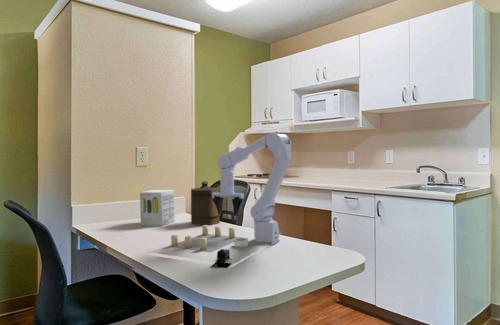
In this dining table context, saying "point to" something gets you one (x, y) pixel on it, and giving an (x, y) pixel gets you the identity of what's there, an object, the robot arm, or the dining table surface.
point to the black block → (222, 259)
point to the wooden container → (203, 205)
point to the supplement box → (157, 207)
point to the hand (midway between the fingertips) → (228, 214)
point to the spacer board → (210, 242)
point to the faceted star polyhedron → (241, 242)
